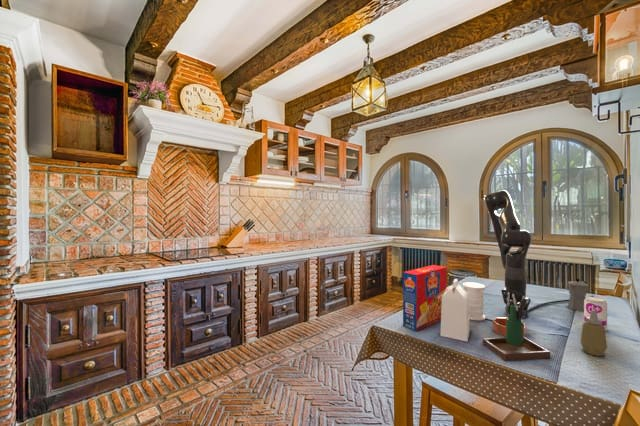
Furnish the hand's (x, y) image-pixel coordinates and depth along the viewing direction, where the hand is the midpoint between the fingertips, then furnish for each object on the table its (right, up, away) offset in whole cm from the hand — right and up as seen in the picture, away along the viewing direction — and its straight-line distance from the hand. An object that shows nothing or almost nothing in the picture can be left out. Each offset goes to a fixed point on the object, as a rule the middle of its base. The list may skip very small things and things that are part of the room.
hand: (514, 317), depth 121 cm
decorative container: (+2, -14, +37) cm, 39 cm away
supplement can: (+54, -14, +21) cm, 60 cm away
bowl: (+9, -14, +17) cm, 24 cm away
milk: (-17, -14, +17) cm, 28 cm away
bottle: (0, -11, 0) cm, 11 cm away
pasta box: (-26, -14, +32) cm, 43 cm away
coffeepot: (+71, -13, +49) cm, 87 cm away
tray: (0, -14, 0) cm, 14 cm away
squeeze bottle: (+31, -14, -2) cm, 35 cm away
